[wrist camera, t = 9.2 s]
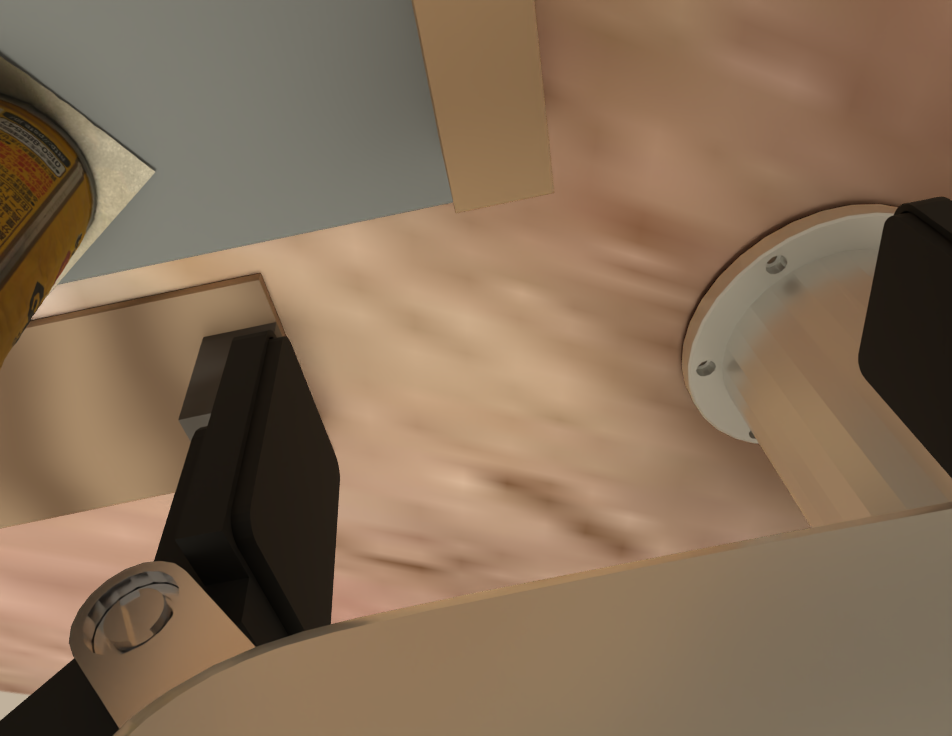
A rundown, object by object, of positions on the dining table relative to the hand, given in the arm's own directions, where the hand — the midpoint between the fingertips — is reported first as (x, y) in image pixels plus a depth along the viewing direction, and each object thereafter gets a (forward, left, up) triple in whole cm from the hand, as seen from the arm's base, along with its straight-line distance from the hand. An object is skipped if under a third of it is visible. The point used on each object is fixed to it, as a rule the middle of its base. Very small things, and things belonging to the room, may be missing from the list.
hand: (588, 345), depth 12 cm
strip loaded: (+11, 0, -16) cm, 19 cm away
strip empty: (+21, +11, -16) cm, 29 cm away
